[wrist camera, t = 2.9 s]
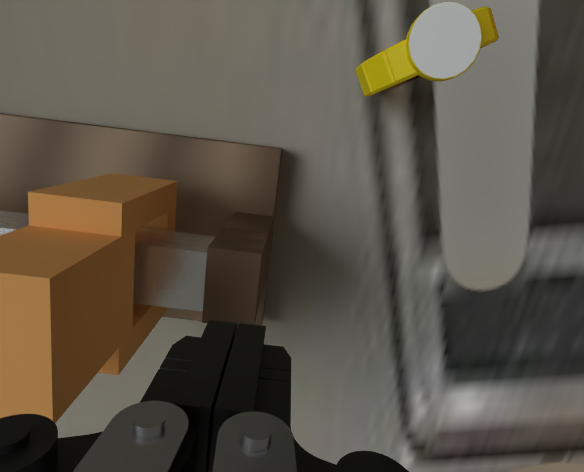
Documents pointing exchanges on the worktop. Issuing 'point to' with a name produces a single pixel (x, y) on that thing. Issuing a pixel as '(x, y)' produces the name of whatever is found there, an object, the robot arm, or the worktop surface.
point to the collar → (75, 288)
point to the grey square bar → (156, 264)
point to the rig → (189, 203)
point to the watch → (431, 47)
